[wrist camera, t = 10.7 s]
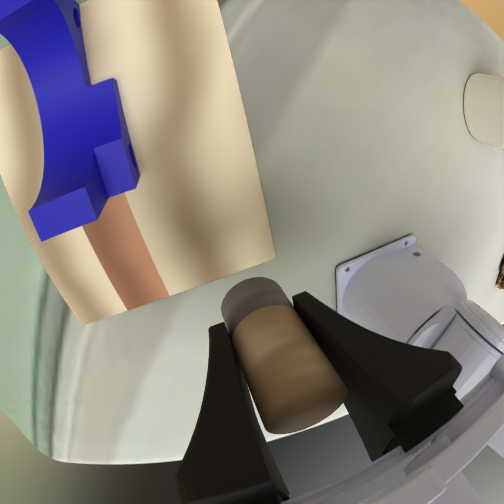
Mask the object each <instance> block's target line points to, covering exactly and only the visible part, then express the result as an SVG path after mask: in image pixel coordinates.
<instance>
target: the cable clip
mask: <svg viewBox="0 0 504 504" xmlns="http://www.w3.org/2000/svg"><path fill="white" fill-rule="evenodd" d="M0 34H2V35H3V36H4V37H5V38H6V39H7V40H8V41H9V42H10V44H11V45H12V46H13V48H14V49H15V50H16V52H17V54H18V55H19V57H20V59H21V61H22V63H23V65H24V67H25V69H26V72H27V74H28V76H29V79H30V82H31V85H32V88H33V91H34V94H35V98H36V102H37V106H38V110H39V115H40V120H41V127H42V134H43V145H44V170H43V178H42V184H41V188H40V191H39V194H38V197H37V199H36V201H35V203H34V205H33V206H32V208H31V209H30V210H29V211H28V213H29V215H30V217H31V220H32V222H33V225H34V227H35V229H36V231H37V234H38V236H39V238H40V240H41V242H43V241H45V240H47V239H50V238H52V237H55V236H57V235H60V234H62V233H65V232H67V231H70V230H73V229H75V228H78V227H80V226H83V225H86V224H88V223H91V222H94V221H97V220H98V218H99V216H100V214H101V212H102V210H103V208H104V206H105V204H106V203H107V201H108V199H109V198H110V197H113V196H116V195H119V194H121V193H124V192H127V191H130V190H133V189H136V188H137V184H138V181H139V178H140V172H139V168H138V165H137V161H136V158H135V154H134V150H133V147H132V143H131V139H130V135H129V131H128V127H127V123H126V119H125V115H124V111H123V107H122V103H121V98H120V94H119V89H118V84H117V80H116V79H114V78H110V79H107V80H104V81H101V82H99V83H96V84H94V85H91V80H90V75H89V70H88V65H87V59H86V53H85V47H84V40H83V33H82V25H81V16H80V7H79V5H78V3H77V2H76V1H75V0H0Z"/></svg>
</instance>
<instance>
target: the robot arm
mask: <svg viewBox="0 0 504 504" xmlns="http://www.w3.org/2000/svg"><path fill="white" fill-rule="evenodd" d="M415 243H416V236H415V235H413V234H411V235H409V236H407V237H404V238H402V239H400V240H398V241H395V242H393V243H391V244H389V245H386V246H384V247H382V248H379V249H377V250H375V251H372V252H370V253H368V254H365V255H363V256H361V257H358V258H356V259H354V260H351V261H349V262H346V263H344V264H342V265H340V266H338V267H337V269H336V285H337V312H336V311H334V310H333V309H331V308H329V307H328V306H326V305H325V304H323V303H322V302H320V301H319V300H318V299H316V298H315V297H313V296H312V295H311V294H309V293H308V292H306V291H305V292H302V293H300V294H297V295H295V296H292V298H293V304H294V308H295V310H296V311H297V313H298V314H299V316H300V317H301V319H302V320H303V322H304V323H305V325H306V326H307V328H308V329H309V331H310V333H311V334H312V336H313V337H314V339H315V340H316V342H317V343H318V345H319V346H320V348H321V349H322V351H323V352H324V354H325V355H326V357H327V358H328V360H329V361H330V363H331V364H332V366H333V367H334V369H335V370H336V372H337V374H338V375H339V377H340V378H341V380H342V381H343V383H344V384H345V386H346V387H347V390H348V394H347V397H346V399H345V400H344V402H343V403H344V405H345V407H346V409H347V411H348V413H349V415H350V417H351V418H352V420H353V422H354V425H355V427H356V428H357V431H358V433H359V435H360V437H361V439H362V441H363V443H364V446H365V448H366V450H367V452H368V455H369V457H370V459H371V461H372V462H371V463H370V464H368V465H366V466H364V467H362V468H360V469H359V470H357V471H355V472H353V473H351V474H349V475H347V476H345V477H343V478H341V479H339V480H336V481H334V482H332V483H330V484H328V485H325V486H323V487H321V488H319V489H316V490H314V491H311V492H309V493H306V494H304V495H301V496H298V497H296V498H293V499H290V498H289V496H288V495H289V491H288V489H287V487H286V485H285V483H284V481H283V478H282V476H281V474H280V472H279V470H278V467H277V465H276V463H275V461H274V458H273V456H272V454H271V452H270V449H269V447H268V445H267V442H266V440H265V437H264V435H263V433H262V430H261V428H260V425H259V423H258V420H257V417H256V414H255V411H254V407H253V404H252V400H251V396H250V393H249V389H248V386H247V382H246V379H245V377H244V374H243V371H242V369H241V366H240V363H239V360H238V358H237V355H236V352H235V349H234V347H233V344H232V341H231V338H230V336H229V333H228V331H227V328H226V326H225V323H224V322H222V323H219V324H217V325H214V326H211V327H210V328H209V329H208V330H209V361H208V372H207V379H206V386H205V391H204V397H203V401H202V405H201V410H200V413H199V417H198V420H197V424H196V427H195V430H194V433H193V435H192V438H191V441H190V443H189V446H188V448H187V451H186V453H185V455H184V457H183V459H182V462H181V464H180V466H179V468H178V470H177V472H176V475H175V486H176V495H177V498H178V502H179V504H323V503H326V502H328V501H330V500H333V499H335V498H337V497H339V496H341V495H343V494H346V493H347V492H350V491H352V490H354V489H356V488H358V487H360V486H361V485H363V484H365V483H367V482H369V481H370V480H372V479H374V478H376V477H378V476H380V475H381V474H383V473H385V472H386V471H388V470H390V469H391V468H393V467H395V466H396V465H398V464H399V463H401V462H402V461H404V460H405V459H407V458H408V457H410V456H411V455H413V454H414V453H416V452H417V451H419V450H420V449H421V448H423V447H424V446H425V445H427V444H428V443H430V442H431V441H432V443H431V445H430V446H429V447H428V448H426V449H425V450H424V451H422V452H421V453H420V454H418V455H417V456H416V457H415V458H414V459H413V460H412V461H411V462H410V463H409V464H408V465H406V466H405V467H404V468H403V470H404V471H405V473H406V474H407V476H405V477H404V478H402V479H401V480H399V481H398V482H396V483H395V484H393V485H391V486H389V487H388V488H386V489H384V490H382V491H381V492H379V493H377V494H375V495H374V496H372V497H370V498H368V499H366V500H364V501H363V502H361V503H358V504H483V503H482V501H481V500H480V498H479V497H478V495H477V494H476V492H475V491H474V489H473V488H472V486H471V485H470V483H469V482H468V480H467V479H466V478H465V476H464V475H463V473H462V472H461V470H462V469H463V468H464V467H465V466H466V465H467V464H468V463H469V462H470V461H471V460H472V459H473V458H474V457H475V456H476V455H477V454H478V453H479V452H480V451H481V450H482V449H483V448H484V447H485V446H486V445H488V446H490V447H491V448H492V449H494V450H495V451H496V452H497V453H498V454H499V455H501V456H502V457H503V458H504V327H503V326H502V325H501V324H500V323H499V322H498V321H497V320H496V319H494V318H493V317H492V316H491V315H490V314H489V313H487V312H486V311H485V310H484V309H482V308H481V307H480V306H478V305H477V304H476V303H474V302H473V301H471V300H467V294H466V291H465V288H464V286H463V284H462V282H461V280H460V279H459V277H458V276H457V275H456V274H455V273H454V272H453V271H452V270H451V269H449V268H448V267H447V266H445V265H444V264H443V263H441V262H440V261H439V260H437V259H436V258H435V257H433V256H432V255H430V254H429V253H428V252H426V251H425V250H423V249H422V248H421V247H419V246H418V245H416V244H415ZM347 267H348V268H347ZM346 268H347V269H346ZM345 269H346V270H345ZM289 499H290V500H289ZM286 500H287V501H286Z"/></svg>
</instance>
